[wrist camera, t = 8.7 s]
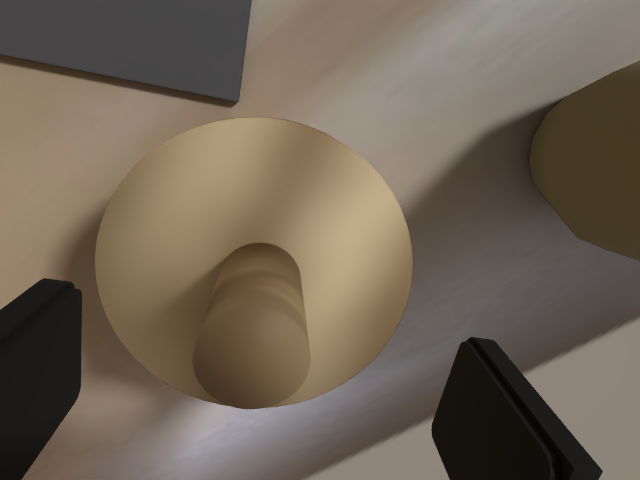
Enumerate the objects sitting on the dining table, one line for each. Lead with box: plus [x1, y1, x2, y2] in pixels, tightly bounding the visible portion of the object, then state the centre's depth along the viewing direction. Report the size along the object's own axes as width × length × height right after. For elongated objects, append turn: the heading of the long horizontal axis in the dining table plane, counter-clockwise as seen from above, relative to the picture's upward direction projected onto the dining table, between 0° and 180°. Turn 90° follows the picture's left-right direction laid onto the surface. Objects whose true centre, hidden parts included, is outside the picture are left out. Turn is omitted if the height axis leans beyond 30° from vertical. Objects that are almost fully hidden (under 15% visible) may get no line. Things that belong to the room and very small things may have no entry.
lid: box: [95, 117, 413, 409], centre depth 13 cm, size 12×12×6 cm
